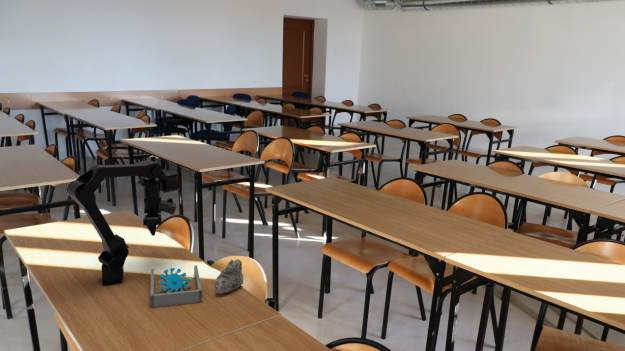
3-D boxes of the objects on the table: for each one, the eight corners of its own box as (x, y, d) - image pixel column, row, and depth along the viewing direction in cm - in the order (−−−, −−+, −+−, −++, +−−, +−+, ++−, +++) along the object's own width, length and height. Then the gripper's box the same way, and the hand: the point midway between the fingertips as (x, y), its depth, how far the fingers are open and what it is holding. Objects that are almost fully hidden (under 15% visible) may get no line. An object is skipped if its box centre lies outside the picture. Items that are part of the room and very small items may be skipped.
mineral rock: (216, 298, 156) (216, 271, 153) (204, 285, 164) (204, 259, 162) (251, 289, 163) (251, 263, 160) (238, 277, 171) (238, 252, 169)
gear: (161, 296, 152) (158, 267, 156) (156, 302, 156) (154, 274, 161) (194, 293, 158) (190, 265, 162) (188, 299, 162) (185, 272, 167)
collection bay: (150, 307, 148) (150, 296, 147) (151, 279, 166) (150, 269, 165) (202, 301, 153) (202, 290, 152) (197, 275, 171) (196, 265, 170)
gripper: (176, 201, 163) (176, 243, 166) (174, 187, 180) (174, 225, 184) (142, 203, 159) (144, 245, 163) (143, 188, 176) (145, 227, 180)
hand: (153, 235), depth 172 cm, fingers closed
